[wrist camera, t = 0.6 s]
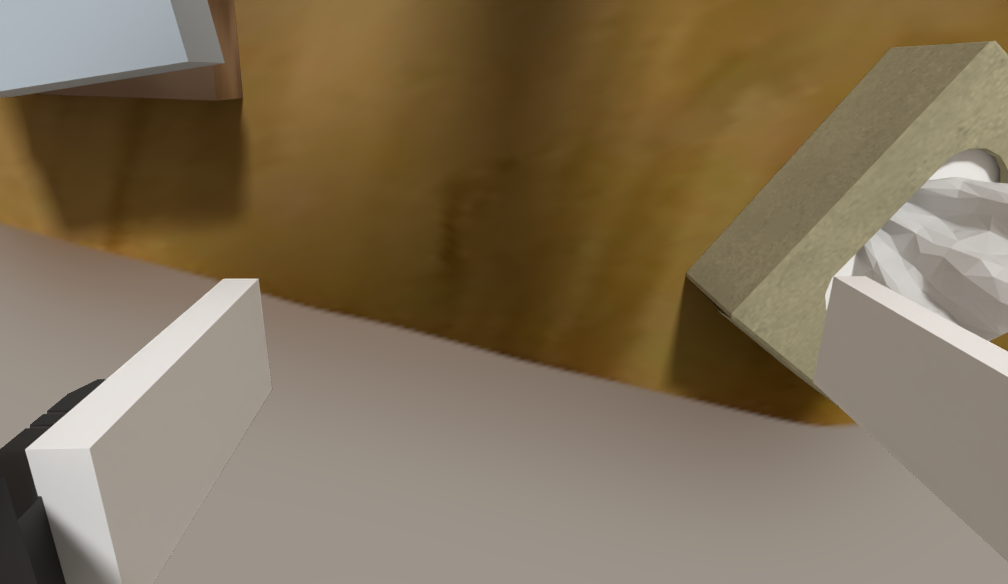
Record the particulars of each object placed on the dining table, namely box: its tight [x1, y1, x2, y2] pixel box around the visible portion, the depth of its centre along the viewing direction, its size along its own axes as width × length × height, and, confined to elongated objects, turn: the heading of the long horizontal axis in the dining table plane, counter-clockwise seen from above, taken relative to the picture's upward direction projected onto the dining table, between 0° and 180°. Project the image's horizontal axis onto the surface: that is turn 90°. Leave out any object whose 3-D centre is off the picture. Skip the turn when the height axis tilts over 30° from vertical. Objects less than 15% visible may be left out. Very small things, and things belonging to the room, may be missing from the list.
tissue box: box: [686, 41, 1008, 407], centre depth 34 cm, size 19×10×16 cm, turn 141°
